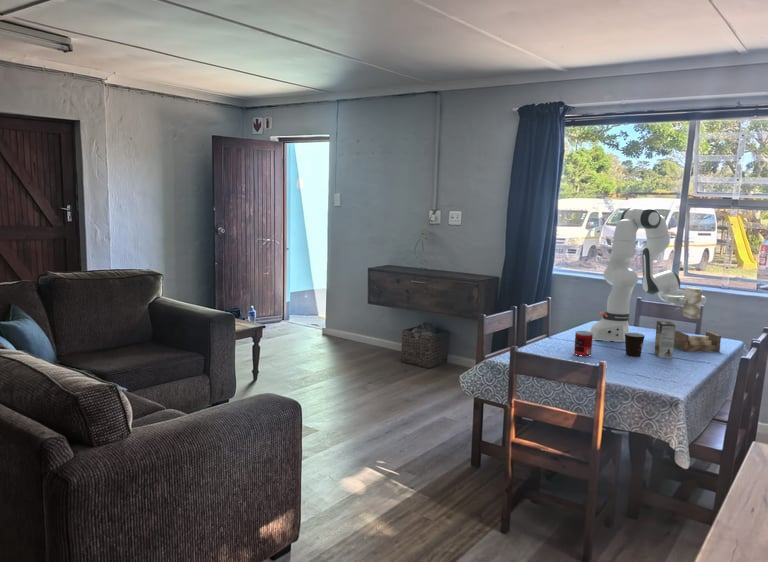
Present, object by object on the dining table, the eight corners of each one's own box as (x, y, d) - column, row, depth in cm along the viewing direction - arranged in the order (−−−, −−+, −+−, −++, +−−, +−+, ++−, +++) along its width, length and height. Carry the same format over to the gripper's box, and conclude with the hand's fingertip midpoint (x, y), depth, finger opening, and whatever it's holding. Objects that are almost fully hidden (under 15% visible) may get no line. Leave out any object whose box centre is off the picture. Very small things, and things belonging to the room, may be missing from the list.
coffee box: (653, 353, 279) (656, 320, 277) (667, 354, 278) (670, 321, 276) (658, 357, 270) (661, 324, 268) (673, 358, 269) (676, 325, 267)
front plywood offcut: (689, 350, 285) (689, 341, 285) (686, 349, 287) (687, 340, 287) (711, 351, 286) (711, 341, 285) (708, 350, 288) (709, 340, 287)
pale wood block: (690, 318, 290) (693, 289, 288) (682, 315, 298) (685, 287, 296) (699, 318, 290) (702, 289, 288) (691, 315, 298) (693, 287, 296)
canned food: (591, 354, 275) (592, 331, 274) (591, 358, 267) (592, 334, 266) (574, 352, 277) (575, 330, 276) (574, 356, 270) (575, 333, 269)
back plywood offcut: (686, 349, 288) (687, 336, 287) (684, 348, 290) (685, 335, 289) (708, 349, 288) (709, 337, 287) (705, 348, 290) (707, 336, 289)
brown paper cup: (634, 358, 268) (636, 337, 267) (619, 354, 276) (620, 333, 275) (651, 355, 274) (652, 335, 272) (636, 351, 281) (637, 331, 280)
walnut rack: (684, 351, 284) (685, 335, 283) (673, 346, 294) (674, 330, 293) (719, 351, 284) (721, 336, 283) (707, 346, 294) (709, 331, 293)
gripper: (659, 291, 306) (672, 295, 293) (697, 292, 307) (712, 296, 293) (658, 302, 307) (671, 307, 293) (696, 303, 307) (711, 308, 294)
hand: (692, 301), depth 293 cm, fingers closed on pale wood block, 4 cm apart
